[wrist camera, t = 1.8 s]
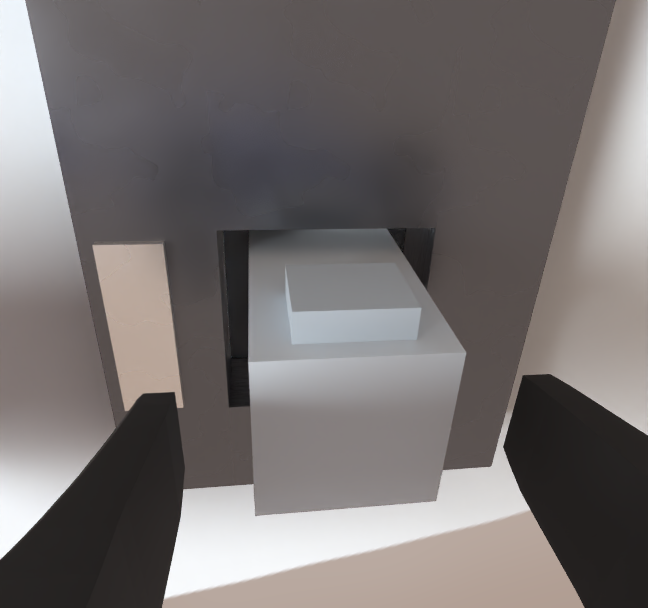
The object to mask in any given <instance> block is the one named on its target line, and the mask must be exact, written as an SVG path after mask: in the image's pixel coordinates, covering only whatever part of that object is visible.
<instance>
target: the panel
mask: <svg viewBox="0 0 648 608" xmlns="http://www.w3.org/2000/svg"><path fill="white" fill-rule="evenodd" d="M25 1H26V6H27V11H28V15H29V20H30V25H31V29H32V34H33V39H34V43H35V48H36V53H37V58H38V62H39V67H40V72H41V76H42V81H43V86H44V91H45V95H46V100H47V105H48V109H49V114H50V119H51V123H52V128H53V133H54V138H55V142H56V147H57V152H58V156H59V161H60V166H61V171H62V175H63V180H64V185H65V189H66V194H67V199H68V203H69V208H70V213H71V218H72V222H73V227H74V232H75V236H76V241H77V246H78V251H79V255H80V260H81V265H82V269H83V274H84V279H85V283H86V288H87V293H88V298H89V302H90V307H91V312H92V316H93V321H94V326H95V331H96V335H97V340H98V345H99V349H100V354H101V359H102V363H103V368H104V373H105V378H106V382H107V387H108V392H109V396H110V401H111V406H112V411H113V415H114V420H115V425H116V428H117V426H118V425H119V424H120V422H121V421H122V420H123V418H124V417H125V415H126V414H127V413H128V411H129V410H130V408H131V407H132V406H133V404H134V403H135V401H136V400H137V399H138V398H139V397H140V396H141V395H142V394H143V393H163V392H175V396H176V404H177V411H178V419H179V426H180V434H181V441H182V449H183V456H184V464H185V474H184V485H183V489H192V488H206V487H219V486H233V485H246V484H254V479H253V456H252V434H251V411H250V389H249V366H248V358H231V343H230V328H229V312H228V296H227V280H226V265H225V249H224V233H223V230H300V229H382V228H406V233H405V241H404V250H403V255H404V256H405V258H406V259H407V261H408V262H409V264H410V265H411V267H412V269H413V270H414V272H415V273H416V275H417V276H418V278H419V279H420V281H421V283H422V284H423V286H424V287H425V289H426V290H427V292H428V293H429V295H430V297H431V298H432V300H433V301H434V303H435V304H436V306H437V308H438V309H439V311H440V312H441V314H442V315H443V317H444V318H445V320H446V322H447V323H448V325H449V326H450V328H451V329H452V331H453V332H454V334H455V336H456V337H457V339H458V340H459V342H460V343H461V345H462V347H463V348H464V350H465V351H466V357H465V362H464V367H463V372H462V376H461V381H460V386H459V391H458V396H457V401H456V406H455V411H454V416H453V420H452V425H451V430H450V435H449V440H448V445H447V450H446V455H445V460H444V464H443V469H442V470H449V469H463V468H477V467H490V466H491V465H492V462H493V458H494V454H495V450H496V447H497V443H498V439H499V435H500V432H501V428H502V424H503V420H504V417H505V413H506V409H507V405H508V402H509V398H510V394H511V390H512V387H513V383H514V379H515V375H516V372H517V368H518V364H519V360H520V357H521V353H522V349H523V345H524V342H525V338H526V334H527V330H528V327H529V323H530V319H531V316H532V312H533V308H534V304H535V301H536V297H537V293H538V289H539V286H540V282H541V278H542V274H543V271H544V267H545V263H546V259H547V256H548V252H549V248H550V244H551V241H552V237H553V233H554V229H555V226H556V222H557V218H558V214H559V211H560V207H561V203H562V199H563V196H564V192H565V188H566V184H567V181H568V177H569V173H570V169H571V166H572V162H573V158H574V154H575V151H576V147H577V143H578V139H579V136H580V132H581V128H582V124H583V121H584V117H585V113H586V109H587V106H588V102H589V98H590V94H591V91H592V87H593V83H594V79H595V76H596V72H597V68H598V64H599V61H600V57H601V53H602V49H603V46H604V42H605V38H606V34H607V31H608V27H609V23H610V19H611V16H612V12H613V8H614V4H615V1H616V0H25Z"/></svg>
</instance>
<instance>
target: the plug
mask: <svg viewBox="0 0 648 608" xmlns="http://www.w3.org/2000/svg"><path fill="white" fill-rule="evenodd" d="M465 357H466V351H465V350H464V348H463V347H462V345H461V343H460V342H459V340H458V339H457V337H456V336H455V334H454V332H453V331H452V329H451V328H450V326H449V325H448V323H447V322H446V320H445V318H444V317H443V315H442V314H441V312H440V311H439V309H438V308H437V306H436V304H435V303H434V301H433V300H432V298H431V297H430V295H429V293H428V292H427V290H426V289H425V287H424V286H423V284H422V283H421V281H420V279H419V278H418V276H417V275H416V273H415V272H414V270H413V269H412V267H411V265H410V264H409V262H408V261H407V259H406V258H405V256H404V255H403V253H402V251H401V250H400V248H399V247H398V245H397V244H396V242H395V240H394V239H393V237H392V236H391V234H390V233H389V231H388V230H387V228H382V229H300V230H249V325H248V366H249V389H250V411H251V434H252V456H253V479H254V501H255V516H258V515H270V514H283V513H295V512H307V511H320V510H332V509H344V508H357V507H369V506H381V505H393V504H406V503H418V502H430V501H436V499H437V494H438V489H439V484H440V479H441V474H442V469H443V464H444V460H445V455H446V450H447V445H448V440H449V435H450V430H451V425H452V420H453V416H454V411H455V406H456V401H457V396H458V391H459V386H460V381H461V376H462V372H463V367H464V362H465Z"/></svg>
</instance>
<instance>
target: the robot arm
mask: <svg viewBox="0 0 648 608" xmlns="http://www.w3.org/2000/svg"><path fill="white" fill-rule="evenodd" d="M503 448H504V451H505V453H506V456H507V458H508V461H509V464H510V466H511V469H512V472H513V474H514V476H515V479H516V481H517V484H518V486H519V488H520V491H521V493H522V495H523V497H524V498H525V500H526V502H527V504H528V506H529V508H530V509H531V511H532V513H533V515H534V517H535V518H536V520H537V522H538V524H539V526H540V528H541V529H542V531H543V533H544V535H545V536H546V538H547V540H548V542H549V544H550V545H551V547H552V549H553V551H554V552H555V554H556V556H557V558H558V560H559V561H560V563H561V565H562V567H563V569H564V570H565V572H566V574H567V576H568V577H569V579H570V581H571V583H572V585H573V586H574V588H575V590H576V592H577V593H578V596H579V597H580V599H581V601H582V603H583V605H584V607H585V608H648V435H646V434H644V433H643V432H641V431H640V430H638V429H636V428H635V427H633V426H632V425H630V424H629V423H627V422H626V421H624V420H622V419H621V418H619V417H618V416H616V415H615V414H613V413H612V412H610V411H608V410H607V409H605V408H604V407H602V406H601V405H599V404H598V403H596V402H595V401H593V400H592V399H590V398H588V397H587V396H585V395H584V394H582V393H581V392H579V391H577V390H576V389H574V388H573V387H571V386H569V385H568V384H566V383H565V382H563V381H561V380H559V379H558V378H556V377H554V376H552V375H550V374H544V375H523V377H522V381H521V384H520V388H519V391H518V395H517V399H516V402H515V406H514V410H513V413H512V417H511V420H510V424H509V428H508V431H507V435H506V439H505V442H504V446H503ZM184 474H185V464H184V456H183V449H182V441H181V434H180V426H179V419H178V411H177V404H176V396H175V392H163V393H143V394H142V395H141V396H140V397H139V398H138V399H137V400H136V401H135V403H134V404H133V406H132V407H131V408H130V410H129V411H128V413H127V414H126V415H125V417H124V418H123V420H122V421H121V422H120V424H119V425H118V426H117V428H116V429H115V430H114V432H113V433H112V434H111V436H110V437H109V438H108V440H107V441H106V442H105V443H104V445H103V446H102V447H101V449H100V450H99V451H98V452H97V454H96V455H95V456H94V457H93V458H92V460H91V461H90V462H89V463H88V465H87V466H86V467H85V468H84V470H83V471H82V472H81V473H80V475H79V476H78V477H77V478H76V479H75V481H74V482H73V483H72V484H71V485H70V486H69V487H68V489H67V490H66V491H65V492H64V493H63V494H62V495H61V496H60V498H59V499H58V500H57V501H56V502H55V503H54V504H53V505H52V506H51V508H50V509H49V510H48V511H47V512H46V513H45V514H44V515H43V517H42V518H41V519H40V520H39V521H38V522H37V523H36V524H35V525H34V526H33V527H32V528H31V529H30V530H29V531H28V532H27V534H26V535H25V536H24V537H23V538H22V539H21V540H20V541H19V542H18V543H17V544H16V545H15V546H14V547H13V548H12V549H11V550H10V551H9V552H8V553H7V554H6V555H5V556H4V557H3V558H2V559H1V560H0V608H162V604H163V599H164V595H165V590H166V585H167V580H168V575H169V571H170V566H171V561H172V556H173V551H174V547H175V542H176V537H177V532H178V527H179V522H180V517H181V507H182V497H183V485H184Z"/></svg>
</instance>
